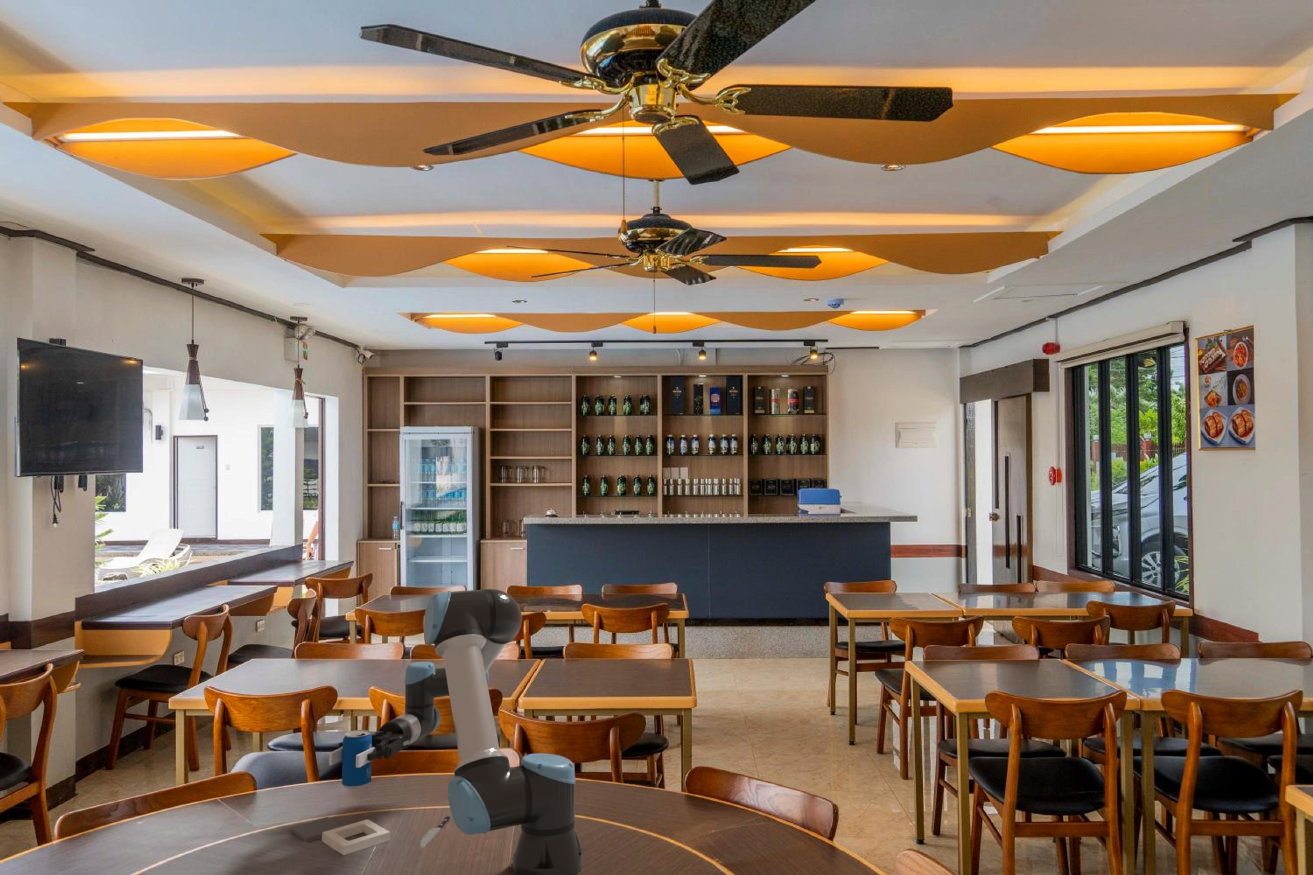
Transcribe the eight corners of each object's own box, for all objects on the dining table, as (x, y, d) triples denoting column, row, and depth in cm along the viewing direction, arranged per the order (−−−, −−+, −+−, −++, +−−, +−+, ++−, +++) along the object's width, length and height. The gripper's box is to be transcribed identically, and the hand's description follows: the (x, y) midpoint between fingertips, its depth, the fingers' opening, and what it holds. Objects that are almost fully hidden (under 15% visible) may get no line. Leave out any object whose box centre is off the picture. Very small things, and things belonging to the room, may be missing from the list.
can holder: (389, 840, 198) (389, 831, 199) (343, 855, 190) (343, 846, 191) (367, 827, 206) (367, 818, 206) (322, 840, 198) (322, 832, 199)
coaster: (343, 831, 204) (343, 826, 204) (306, 842, 198) (306, 837, 198) (327, 821, 210) (327, 816, 210) (290, 831, 204) (290, 827, 204)
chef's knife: (408, 852, 193) (420, 852, 193) (408, 847, 193) (420, 846, 193) (439, 819, 212) (451, 819, 212) (439, 815, 212) (450, 814, 212)
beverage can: (361, 790, 196) (362, 737, 196) (336, 788, 197) (337, 736, 198) (376, 781, 202) (377, 729, 203) (351, 779, 203) (352, 728, 204)
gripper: (432, 750, 214) (380, 780, 192) (365, 745, 219) (307, 773, 197) (433, 720, 215) (381, 746, 193) (366, 715, 220) (307, 740, 198)
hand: (343, 760), depth 195 cm, fingers closed on beverage can, 6 cm apart
